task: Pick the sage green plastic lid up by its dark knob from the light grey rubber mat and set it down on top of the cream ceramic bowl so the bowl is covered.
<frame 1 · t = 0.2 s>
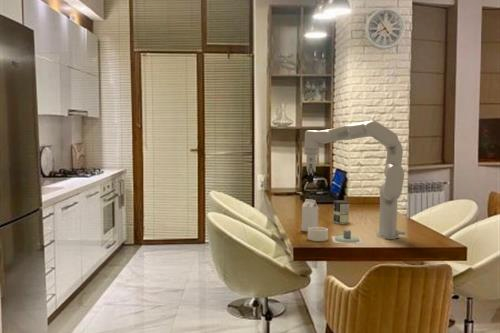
hand: (310, 181, 283), 31 cm above the table, tool pointing down, fingers open, 9 cm apart
coffee can: (340, 222, 324), on the table
milk carton: (309, 231, 295), on the table
mat: (346, 240, 270), on the table
bowl: (317, 239, 272), on the table
lid: (347, 239, 270), resting on mat
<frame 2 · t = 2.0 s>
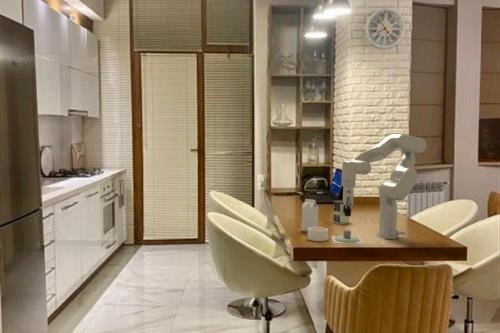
hand: (346, 214, 269), 14 cm above the table, tool pointing down, fingers open, 9 cm apart
nothing on the table moved.
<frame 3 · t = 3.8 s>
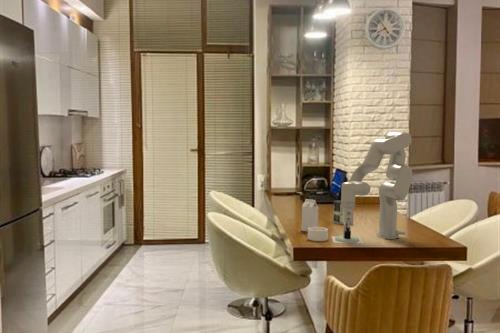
hand: (347, 237, 270), 2 cm above the table, tool pointing down, fingers closed on lid, 4 cm apart
lid: (347, 239, 270), point 1 cm above the table, touching gripper, mat
everything else where it was.
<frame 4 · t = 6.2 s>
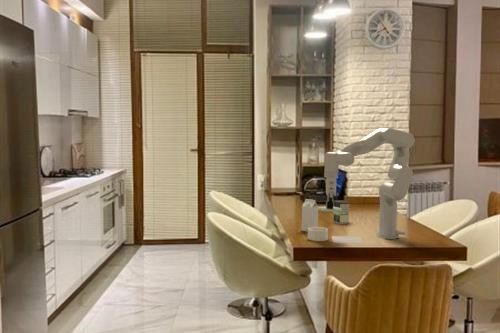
hand: (329, 207, 270), 18 cm above the table, tool pointing down, fingers closed on lid, 4 cm apart
lid: (329, 209, 270), point 17 cm above the table, touching gripper
everything else where it was.
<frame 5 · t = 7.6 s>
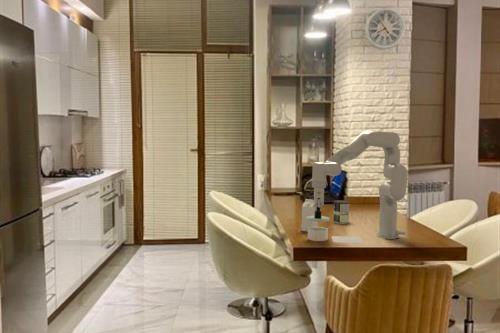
hand: (317, 217, 271), 12 cm above the table, tool pointing down, fingers closed on lid, 4 cm apart
lid: (317, 219, 271), point 11 cm above the table, touching gripper
everything else where it was.
when the fingers open (9 cm above the table, at t = 8.5 s): lid drops 1 cm, resting on bowl.
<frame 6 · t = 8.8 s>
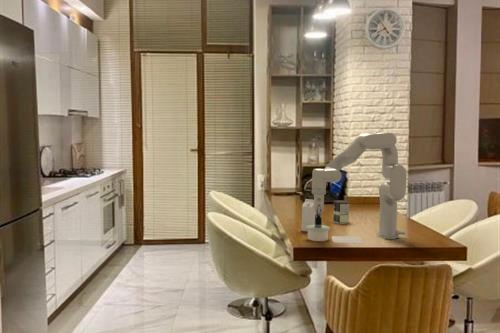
hand: (318, 223, 271), 9 cm above the table, tool pointing down, fingers open, 6 cm apart
lid: (318, 228, 271), point 6 cm above the table, touching bowl
everything else where it was.
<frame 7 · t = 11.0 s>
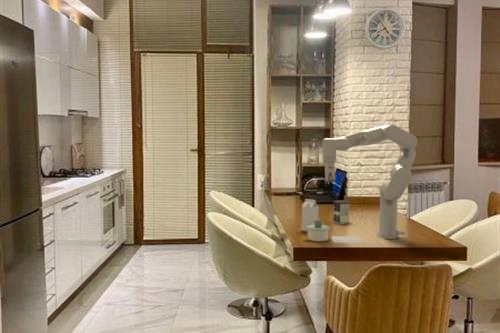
hand: (329, 190, 279), 27 cm above the table, tool pointing down, fingers open, 9 cm apart
nothing on the table moved.
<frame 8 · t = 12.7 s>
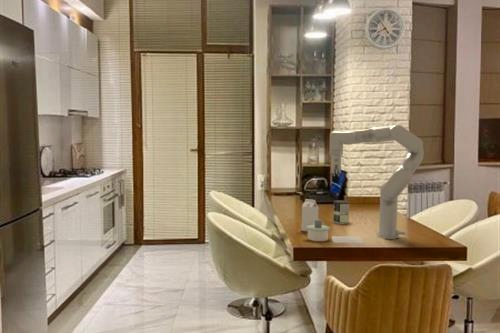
hand: (335, 182, 285), 30 cm above the table, tool pointing down, fingers open, 9 cm apart
nothing on the table moved.
at the end: lid 0.1 cm off-centre on the bowl, point 6.0 cm above the bowl's base; lid tilted 0°; the gripper is holding nothing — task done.
